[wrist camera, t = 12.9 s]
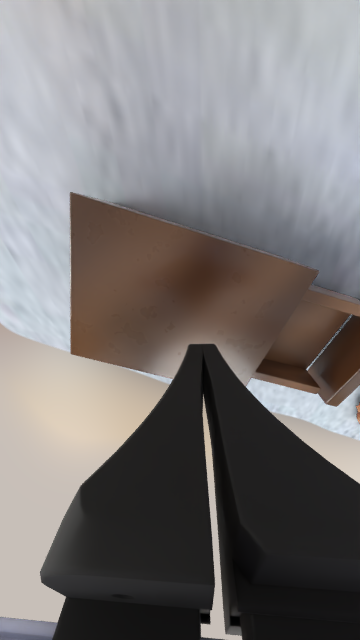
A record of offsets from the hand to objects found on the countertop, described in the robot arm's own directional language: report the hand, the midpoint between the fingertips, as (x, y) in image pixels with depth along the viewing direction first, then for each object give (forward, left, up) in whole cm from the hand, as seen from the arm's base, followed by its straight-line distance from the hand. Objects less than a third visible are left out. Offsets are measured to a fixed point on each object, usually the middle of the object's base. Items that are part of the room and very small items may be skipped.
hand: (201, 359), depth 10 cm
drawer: (-11, 0, -8) cm, 14 cm away
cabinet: (+2, 0, -9) cm, 9 cm away
